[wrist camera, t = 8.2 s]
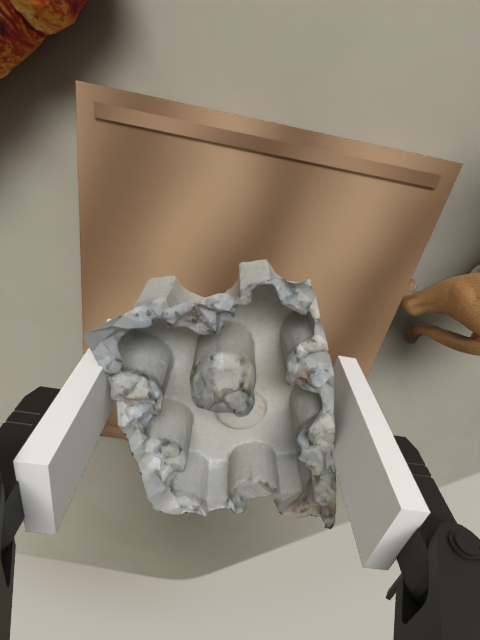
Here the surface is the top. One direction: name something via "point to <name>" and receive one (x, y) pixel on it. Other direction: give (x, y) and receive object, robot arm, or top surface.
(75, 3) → the croissant
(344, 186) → the walnut board
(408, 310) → the lion figurine
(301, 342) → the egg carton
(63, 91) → the top surface
